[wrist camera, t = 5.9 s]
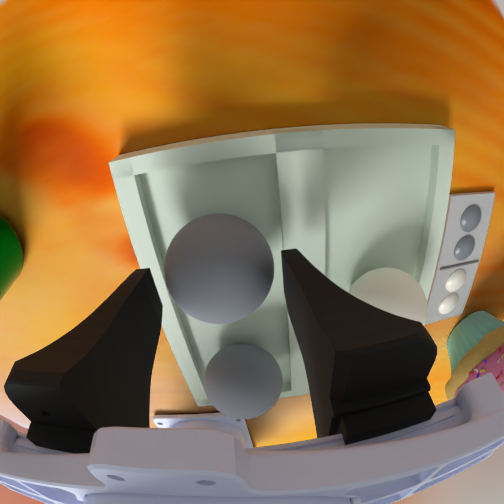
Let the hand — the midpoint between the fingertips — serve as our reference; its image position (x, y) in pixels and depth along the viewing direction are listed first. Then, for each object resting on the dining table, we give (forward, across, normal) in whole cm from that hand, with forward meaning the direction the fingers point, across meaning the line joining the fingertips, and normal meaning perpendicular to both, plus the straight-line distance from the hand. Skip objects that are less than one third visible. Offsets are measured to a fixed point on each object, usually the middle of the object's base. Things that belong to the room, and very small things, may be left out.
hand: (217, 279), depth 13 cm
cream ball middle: (+3, -8, +4) cm, 9 cm away
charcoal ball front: (+3, 0, 0) cm, 3 cm away
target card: (+4, -15, +4) cm, 16 cm away
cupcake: (+4, -19, +12) cm, 23 cm away
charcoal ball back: (+3, 0, +8) cm, 9 cm away
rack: (+4, -4, +4) cm, 7 cm away
